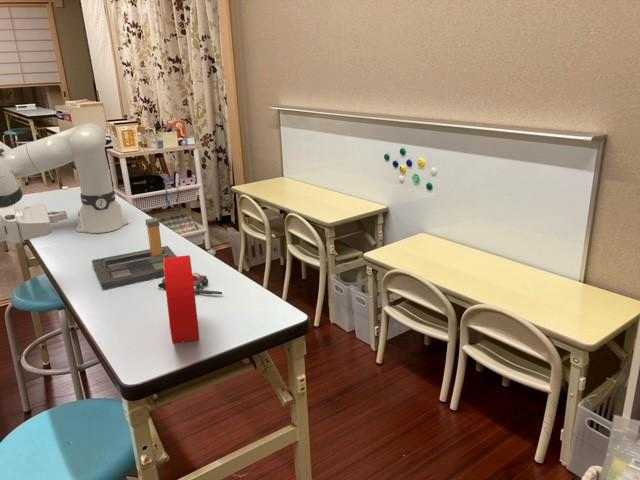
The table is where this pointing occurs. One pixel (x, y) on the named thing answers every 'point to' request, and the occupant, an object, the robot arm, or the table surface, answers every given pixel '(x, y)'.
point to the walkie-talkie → (196, 284)
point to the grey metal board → (130, 268)
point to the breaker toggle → (154, 236)
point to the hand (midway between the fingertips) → (66, 214)
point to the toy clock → (181, 299)
